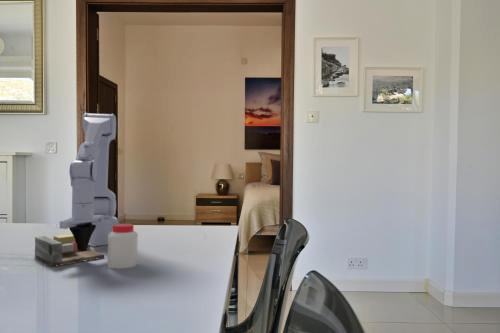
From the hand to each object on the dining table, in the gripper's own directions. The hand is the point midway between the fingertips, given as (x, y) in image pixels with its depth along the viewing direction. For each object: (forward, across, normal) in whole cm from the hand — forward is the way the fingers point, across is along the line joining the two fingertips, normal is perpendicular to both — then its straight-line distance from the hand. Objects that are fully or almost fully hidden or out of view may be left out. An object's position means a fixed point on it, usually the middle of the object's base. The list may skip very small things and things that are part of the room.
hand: (82, 250), depth 112 cm
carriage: (+1, -2, -8) cm, 8 cm away
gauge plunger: (0, +4, -2) cm, 4 cm away
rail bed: (+3, -1, -5) cm, 6 cm away
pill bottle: (+3, -1, +13) cm, 14 cm away
